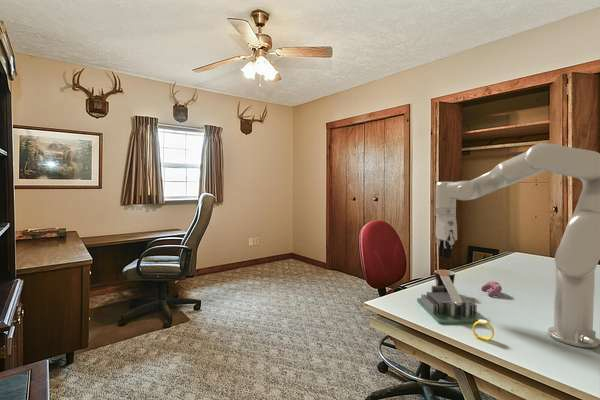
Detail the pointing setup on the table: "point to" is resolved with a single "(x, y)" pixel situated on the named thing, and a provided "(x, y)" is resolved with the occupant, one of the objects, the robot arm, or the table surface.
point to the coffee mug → (439, 280)
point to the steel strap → (450, 288)
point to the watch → (483, 324)
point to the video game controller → (492, 288)
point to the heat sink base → (452, 320)
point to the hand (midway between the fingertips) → (444, 256)
